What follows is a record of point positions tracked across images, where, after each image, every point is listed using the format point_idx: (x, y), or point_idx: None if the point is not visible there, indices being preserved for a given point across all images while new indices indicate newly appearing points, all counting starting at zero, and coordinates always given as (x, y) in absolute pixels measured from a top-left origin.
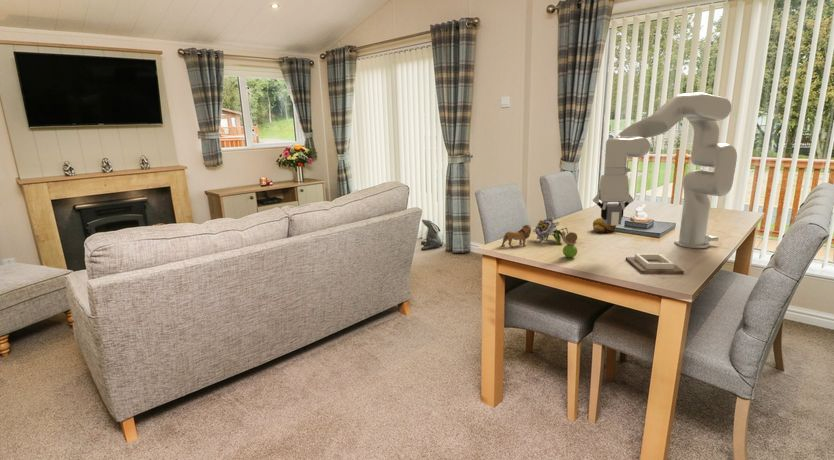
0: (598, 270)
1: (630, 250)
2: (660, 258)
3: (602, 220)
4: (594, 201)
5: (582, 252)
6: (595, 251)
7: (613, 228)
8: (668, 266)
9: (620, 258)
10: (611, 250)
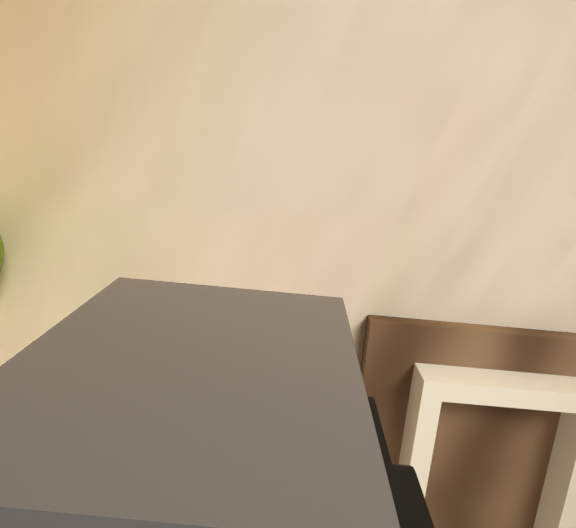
0: None
1: (533, 66)
2: (568, 440)
3: (114, 284)
4: None
5: (103, 103)
6: (221, 79)
7: None
8: None
9: (343, 284)
10: (370, 55)
